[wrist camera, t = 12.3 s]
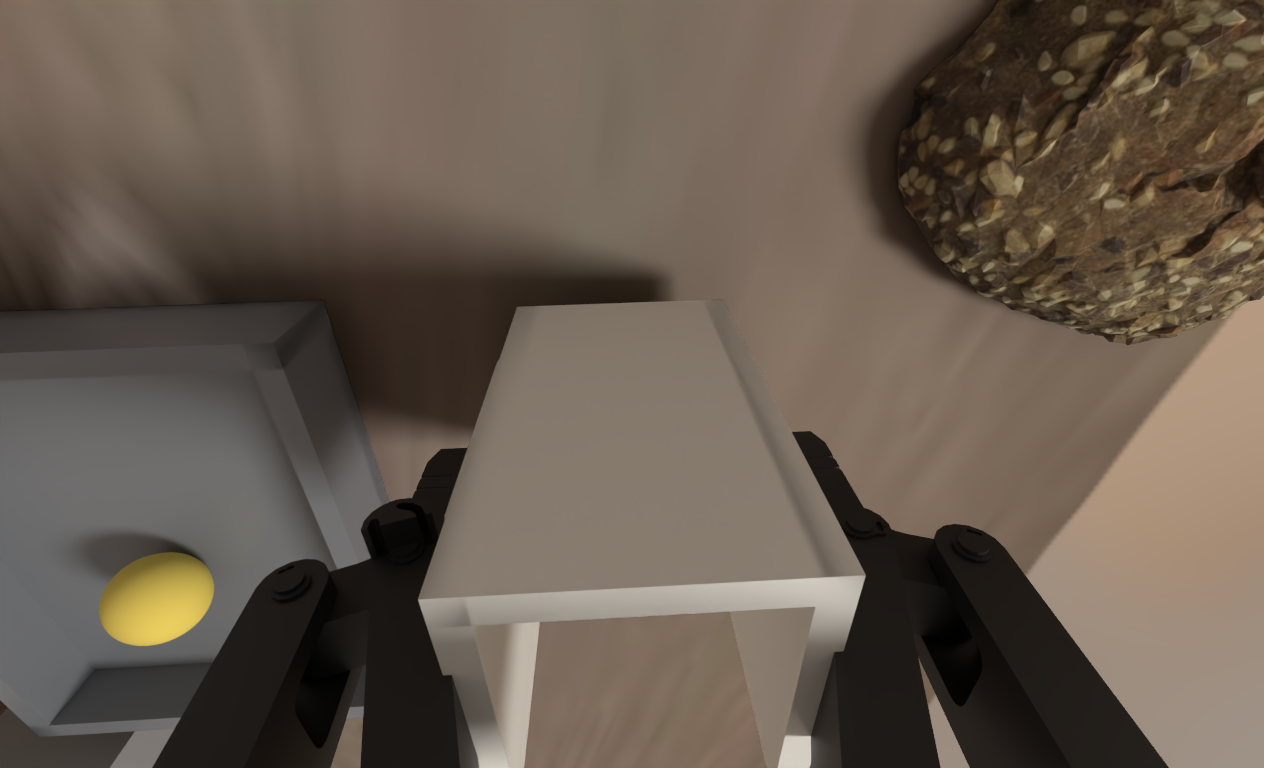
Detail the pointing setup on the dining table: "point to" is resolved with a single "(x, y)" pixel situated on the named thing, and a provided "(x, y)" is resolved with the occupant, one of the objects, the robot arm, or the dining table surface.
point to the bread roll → (1098, 162)
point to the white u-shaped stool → (636, 515)
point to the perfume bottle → (77, 747)
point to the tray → (163, 489)
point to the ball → (156, 599)
